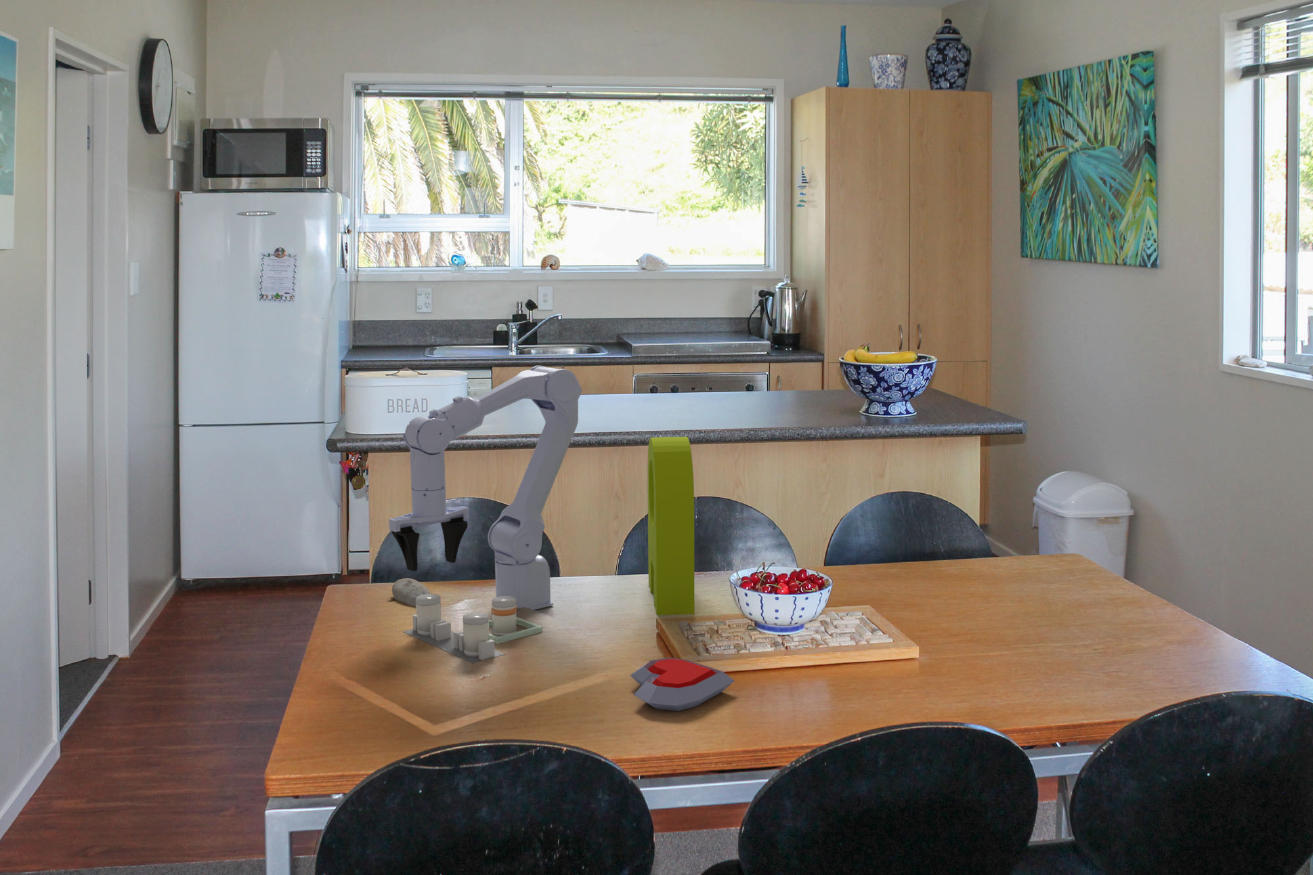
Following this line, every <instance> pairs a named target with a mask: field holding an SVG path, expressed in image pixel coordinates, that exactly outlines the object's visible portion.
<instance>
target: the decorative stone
mask: <svg viewBox="0 0 1313 875" xmlns="http://www.w3.org/2000/svg"><path fill="white" fill-rule="evenodd" d="M391 593H392V596H393V598H394V600H395V601H397V602H400V603H402V604H405V605H409V606H411V607H416V597H418V596H420V595H425V594H432V593H431V591H430V590H429V588H428V587H427V586H425V585H424V584H423V583H421V582H420V581H418V580H416V579H413V578H409V577H406V578H401V579H400V578H399V579H397V580H396V581H395V582H394V583H393V585H392V587H391Z"/></svg>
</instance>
